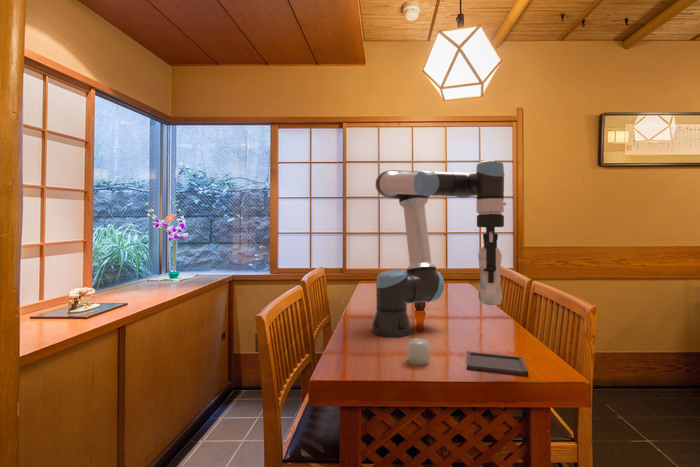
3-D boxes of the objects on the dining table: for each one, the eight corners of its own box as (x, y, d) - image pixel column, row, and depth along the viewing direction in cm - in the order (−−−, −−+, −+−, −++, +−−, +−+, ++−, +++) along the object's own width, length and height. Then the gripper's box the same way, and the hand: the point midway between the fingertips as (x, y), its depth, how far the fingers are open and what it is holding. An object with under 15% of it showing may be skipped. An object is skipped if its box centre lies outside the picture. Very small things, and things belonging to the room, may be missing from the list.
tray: (466, 369, 107) (466, 365, 107) (467, 355, 119) (467, 351, 119) (528, 376, 102) (528, 372, 102) (522, 360, 114) (522, 356, 114)
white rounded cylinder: (407, 364, 111) (406, 344, 111) (408, 356, 117) (408, 337, 117) (429, 366, 110) (428, 345, 109) (429, 358, 116) (429, 338, 116)
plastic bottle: (500, 308, 106) (499, 237, 106) (475, 305, 110) (475, 237, 109) (504, 304, 112) (504, 237, 111) (481, 301, 115) (481, 237, 115)
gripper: (506, 212, 100) (506, 298, 100) (501, 214, 118) (501, 287, 118) (476, 213, 102) (477, 297, 103) (476, 215, 120) (476, 286, 121)
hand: (490, 291), depth 111 cm, fingers closed on plastic bottle, 6 cm apart
